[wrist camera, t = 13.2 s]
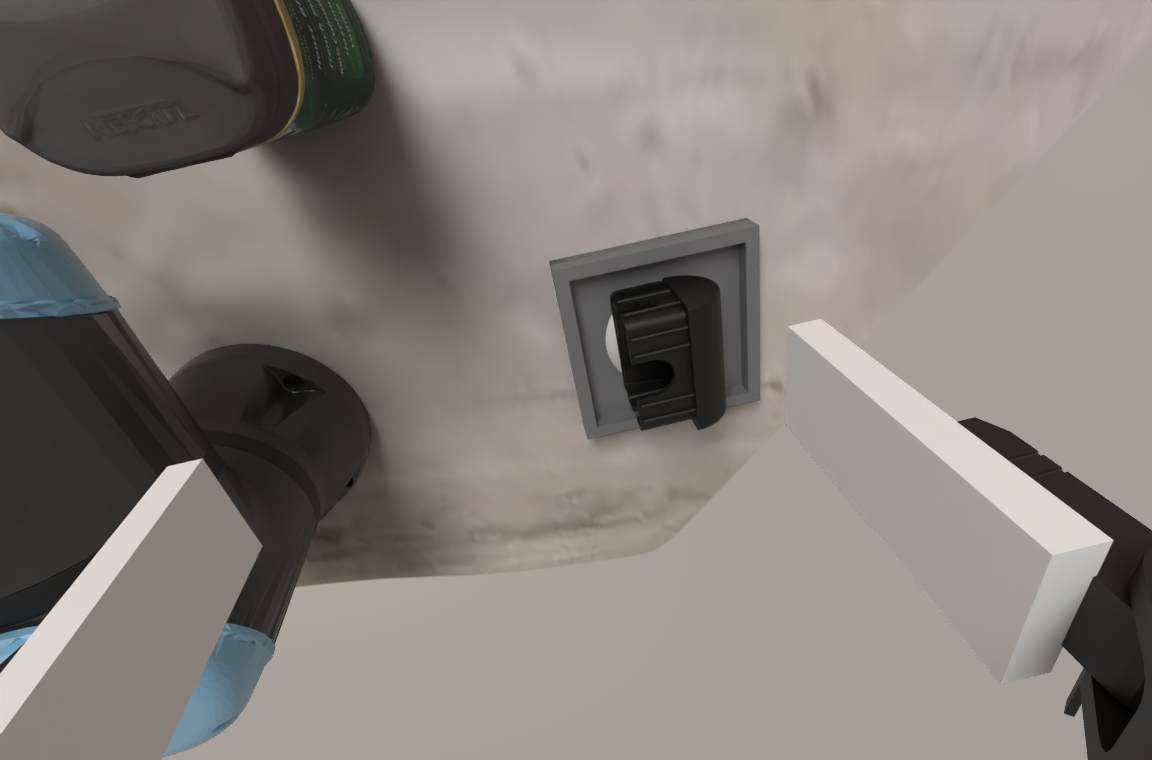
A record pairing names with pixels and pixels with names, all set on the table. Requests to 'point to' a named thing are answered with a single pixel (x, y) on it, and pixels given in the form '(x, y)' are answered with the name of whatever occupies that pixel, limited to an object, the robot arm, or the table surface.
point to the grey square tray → (598, 274)
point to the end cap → (672, 350)
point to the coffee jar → (174, 78)
